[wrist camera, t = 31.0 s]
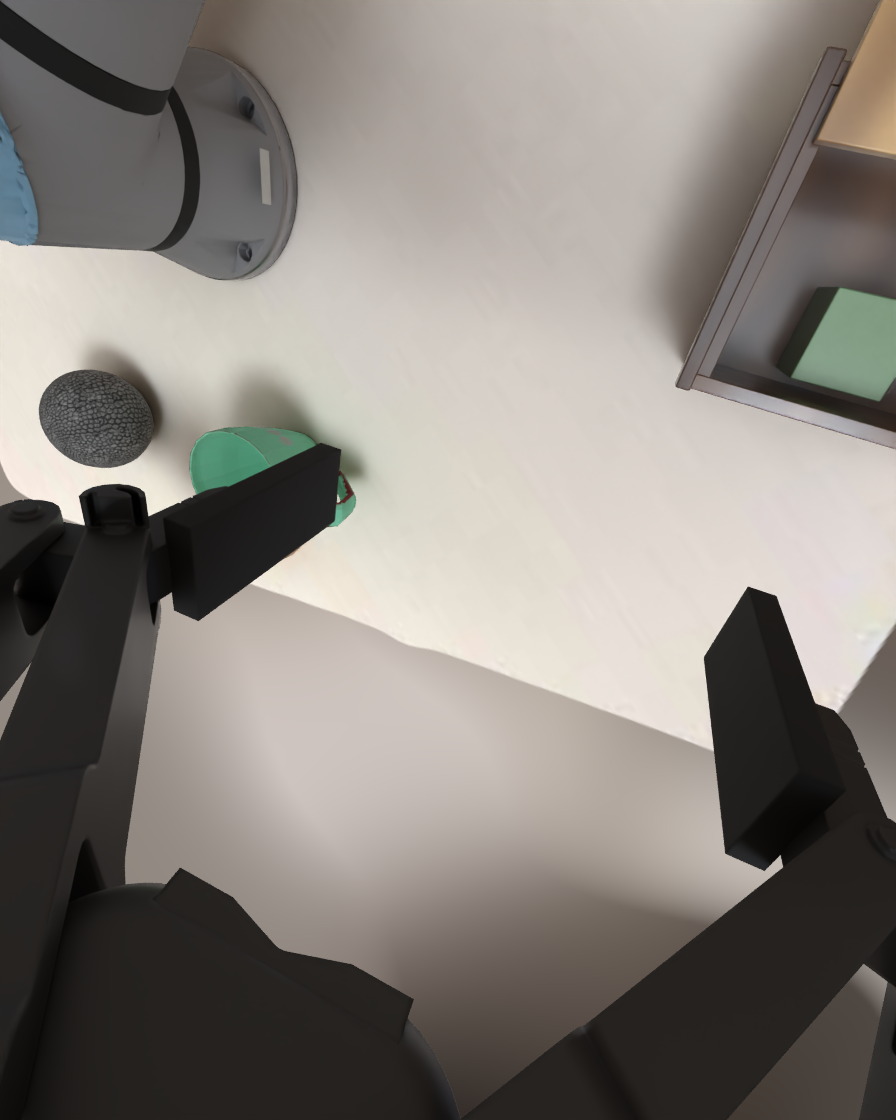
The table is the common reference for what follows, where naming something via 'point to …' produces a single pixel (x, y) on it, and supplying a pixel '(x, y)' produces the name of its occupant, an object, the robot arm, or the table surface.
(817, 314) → the block
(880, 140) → the sliding lid
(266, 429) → the mug
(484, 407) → the table surface
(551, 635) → the table surface
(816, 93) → the walnut box
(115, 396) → the decorative ball
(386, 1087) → the robot arm
